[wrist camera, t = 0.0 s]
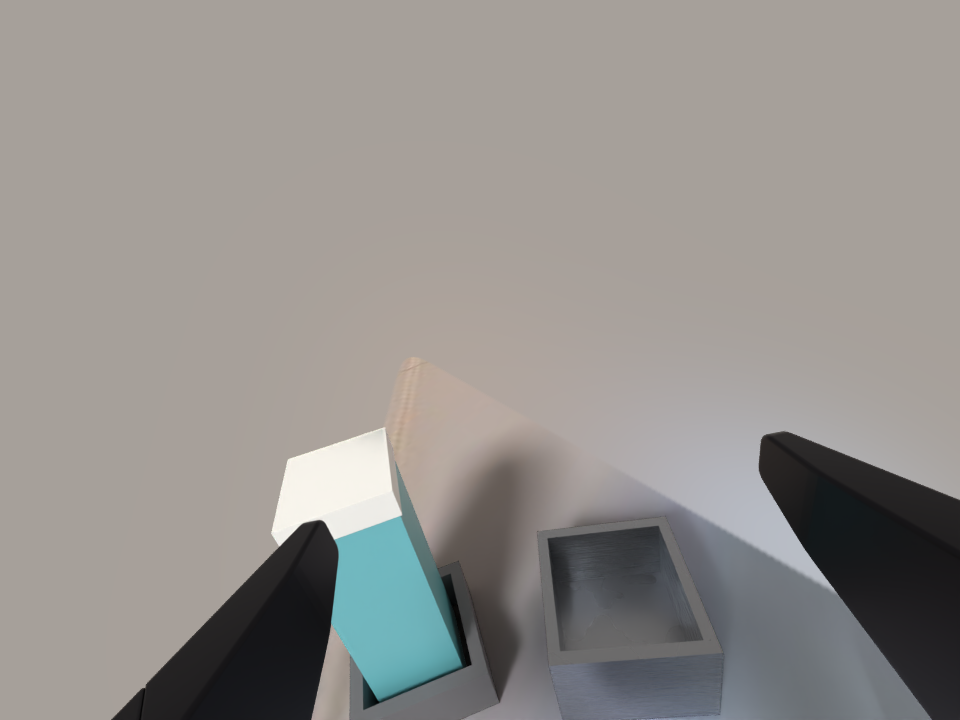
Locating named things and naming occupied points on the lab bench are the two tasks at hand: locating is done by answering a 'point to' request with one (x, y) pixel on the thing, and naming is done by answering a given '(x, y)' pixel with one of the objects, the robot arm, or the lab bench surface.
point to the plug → (375, 563)
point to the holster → (443, 702)
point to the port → (626, 624)
